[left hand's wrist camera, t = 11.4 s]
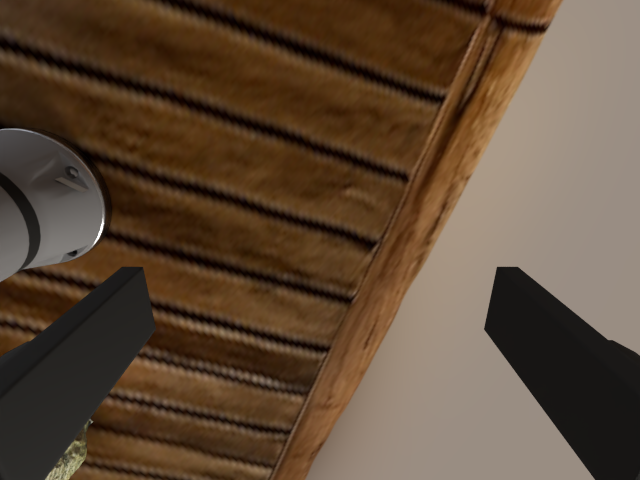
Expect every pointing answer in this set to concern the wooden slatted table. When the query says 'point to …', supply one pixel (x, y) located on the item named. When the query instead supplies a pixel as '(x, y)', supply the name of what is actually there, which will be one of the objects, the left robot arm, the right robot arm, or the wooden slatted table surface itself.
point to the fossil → (71, 457)
